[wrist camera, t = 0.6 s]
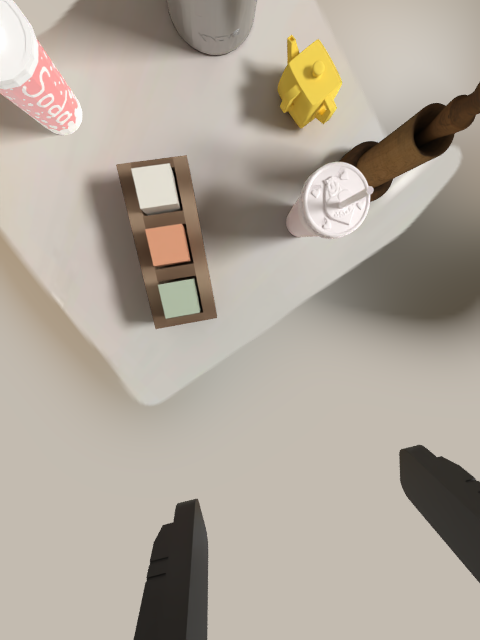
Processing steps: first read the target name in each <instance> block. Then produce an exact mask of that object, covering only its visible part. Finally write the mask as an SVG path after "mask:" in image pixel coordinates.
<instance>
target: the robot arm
mask: <svg viewBox="0 0 480 640" xmlns="http://www.w3.org/2000/svg"><path fill="white" fill-rule="evenodd" d="M167 3H168V8H169V13H170V16H171V19H172V22H173V24H174V26H175V28H176V29H177V31H178V33H179V34H180V35H181V37H182V38H183V39H184V40H185V41H186V42H187V43H188V44H189V45H190V46H192V47H193V48H195V49H196V50H198V51H200V52H202V53H206V54H210V55H222V54H226V53H229V52H231V51H233V50H235V49H236V48H237V47H239V46H240V45H241V44H242V43H243V42H244V40H245V39H246V38H247V36H248V35H249V32H250V30H251V28H252V25H253V20H254V15H255V9H256V3H257V0H167ZM399 456H400V481H401V485H402V488H403V490H404V492H405V494H406V496H407V497H408V499H409V500H410V501H411V502H412V503H413V505H414V506H415V507H416V508H417V509H418V511H419V512H420V513H421V514H422V515H423V516H424V518H425V519H426V520H427V521H428V522H429V523H430V525H431V526H432V527H433V528H434V529H435V531H437V533H438V534H439V535H440V537H441V538H442V539H443V540H444V541H445V542H446V544H447V545H448V546H449V547H450V548H451V550H452V551H453V552H454V553H455V554H456V555H457V557H458V558H459V559H460V560H461V561H462V563H463V564H464V565H465V566H466V567H467V569H468V570H469V571H470V572H471V573H472V574H473V576H474V577H475V578H476V579H477V580H478V581H479V583H480V482H479V481H476V480H475V478H474V477H473V476H472V475H470V474H469V473H468V472H467V471H465V470H464V469H463V468H462V467H461V466H459V465H457V464H455V463H453V462H451V461H449V460H448V459H445V458H443V457H442V456H441V457H436V456H435V455H434V454H432V453H431V452H430V451H429V450H428V449H426V448H425V447H424V446H422V445H417V446H413V447H409V448H405V449H401V450H400V454H399ZM207 606H208V539H207V532H206V527H205V524H204V520H203V516H202V512H201V509H200V505H199V501H198V499H194V500H189V501H185V502H181V503H178V504H177V505H176V509H175V516H174V523H170V524H166V525H163V526H162V528H161V530H160V532H159V534H158V536H157V538H156V539H155V541H154V544H153V549H152V554H151V559H150V565H149V569H148V573H147V582H146V583H145V588H144V593H143V598H142V603H141V607H140V612H139V617H138V622H137V626H136V632H135V636H134V640H207V609H208V608H207Z"/></svg>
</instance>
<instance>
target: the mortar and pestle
mask: <svg viewBox="0 0 480 640" xmlns="http://www.w3.org/2000/svg"><path fill="white" fill-rule="evenodd" d="M479 113H480V83H479V84H478V86H477V88H476V89H475V91H474V92H473V93H472V94H470V95H468V96H467V95H460V96H457V97H456V98H454V99H453V100H452V101H451V102H450V103H449V104H448V105H447V106H445V105H443V104H440V103H433V104H430V105H428V106H426V107H425V108H423V109H422V110H421V111H419V112H418V113H417V114H415V115H414V116H413V117H412V118H410V119H409V120H408V121H407V122H405V123H404V124H403V125H401V126H400V127H399V128H398V129H396V130H395V131H394V132H392V133H391V134H390V135H388V136H387V137H386V138H384V139H383V140H382V141H380V142H379V143H378V142H373V141H368V142H363V143H361V144H359V145H357V146H355V147H354V148H353V149H352V150H350V151H349V152H348V153H347V154H346V155H345V156H344V157H343V158H342V159H341V160H340V161H339V162H345V163H348V164H351V165H353V166H354V167H356V168H357V169H358V170H359V171H360V172H361V173H362V174H363V175H364V177H365V179H366V181H367V183H368V186H372V187H373V189H374V191H373V193H372V194H370V202H371V201H374V200H376V199H378V198H379V197H381V196H382V195H383V194H384V193H385V192H386V191H387V190H388V189H389V187H390V185H391V183H392V181H393V178H395V177H397V176H399V175H401V174H403V173H405V172H407V171H409V170H411V169H413V168H415V167H417V166H419V165H421V164H423V163H425V162H427V161H429V160H432V159H434V158H436V157H438V156H440V155H441V154H443V153H444V152H445V151H446V150H447V149H448V148H449V146H450V144H451V143H452V140H453V138H454V134H455V133H456V132H459V131H461V130H464V129H466V128H467V127H469V126H470V125H471V123H472V122H473V121H474V119H475V116H476V114H479Z"/></svg>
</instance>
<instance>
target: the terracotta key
mask: <svg viewBox="0 0 480 640" xmlns="http://www.w3.org/2000/svg"><path fill="white" fill-rule="evenodd" d="M145 231H146V235H147V240H148V244H149V248H150V253H151V257H152V261H153V266H157V267H162V266H168V265H174V264H180V263H186V262H191V257H190V252H189V247H188V242H187V237H186V232H185V228H184V227H183V225H182V224H176V225H169V226H163V227H156V228H150V229H145Z"/></svg>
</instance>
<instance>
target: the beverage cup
mask: <svg viewBox="0 0 480 640" xmlns="http://www.w3.org/2000/svg"><path fill="white" fill-rule="evenodd" d="M0 94H2V95H3V96H4V97H6V98H7V99H8V100H10V101H11V102H12V103H14V104H15V105H16V106H18V107H19V108H20V109H22V110H23V111H24V112H26V113H27V114H28V115H30V116H31V117H32V118H34V119H35V120H36V121H38V122H39V123H40V124H42V125H43V126H44V127H46V128H47V129H48V130H50V131H52V132H53V133H55V134H60V135H67V134H72V133H73V132H74V131H76V130H77V129H78V128H79V126H80V124H81V122H82V109H81V106H80V103H79V101H78V100H77V98H76V97H75V95H74V94H73V92H72V91H71V89H70V88H69V86H68V85H67V83H66V82H65V80H64V79H63V77H62V76H61V74H60V73H59V71H58V70H57V68H56V67H55V65H54V64H53V62H52V61H51V59H50V58H49V56H48V55H47V53H46V52H45V50H44V49H43V47H42V46H41V44H40V43H39V41H38V40H37V38H36V36H35V33H34V31H33V28H32V25H31V24H30V23H29V21H28V20H27V18H26V17H25V15H24V14H23V12H22V11H21V10H20V9H19V7H18V6H17V5H16V3H15V2H14V1H13V0H0Z"/></svg>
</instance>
